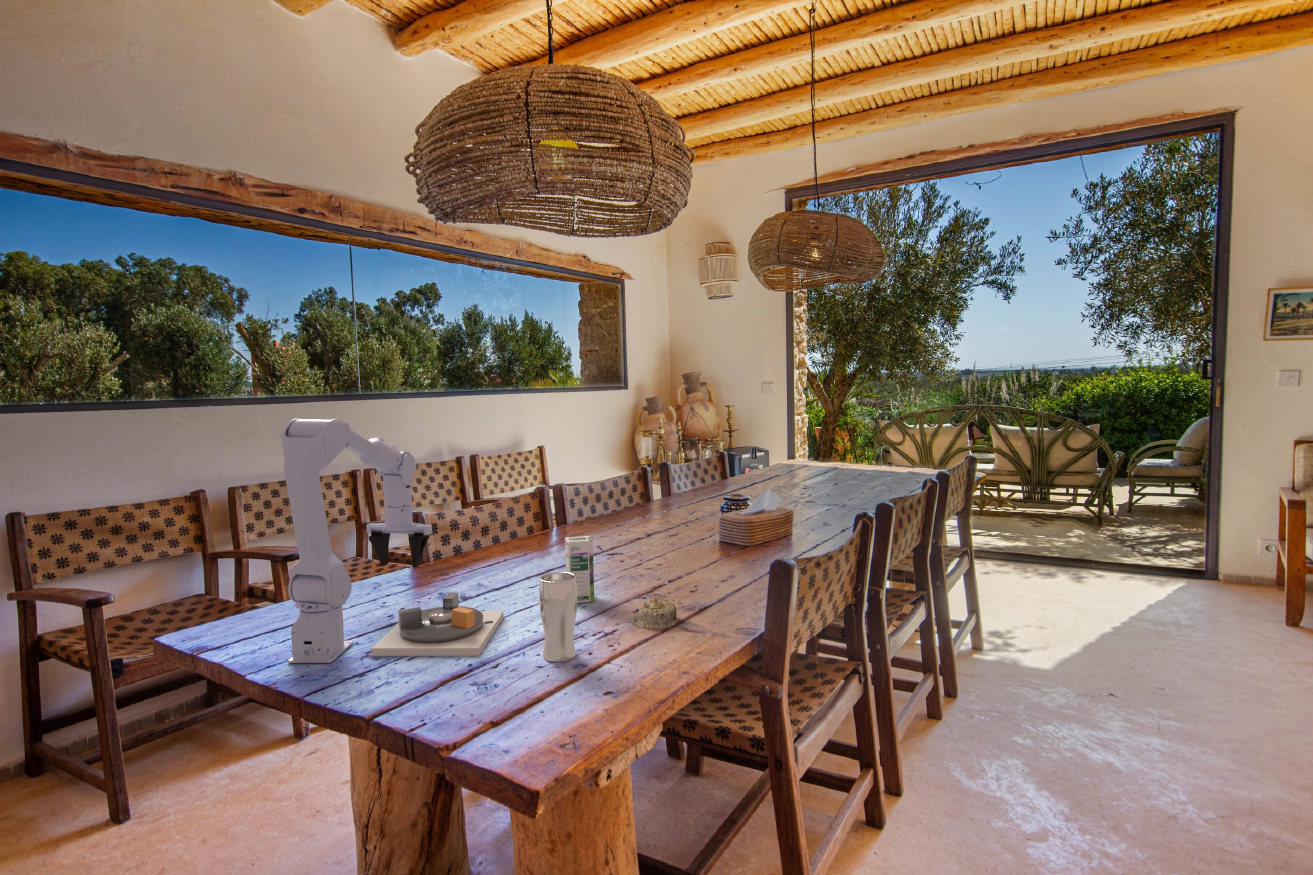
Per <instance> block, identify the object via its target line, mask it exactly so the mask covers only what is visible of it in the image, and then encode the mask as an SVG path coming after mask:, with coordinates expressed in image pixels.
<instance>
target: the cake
mask: <svg viewBox="0 0 1313 875" xmlns="http://www.w3.org/2000/svg"><path fill="white" fill-rule="evenodd" d="M678 620H679V618H678V617H677V607H676V606H675V604H674V603H671V602H670V601H666V600H661V599H660V600H659V599H658V598H653V599H647V600H645V601H644V602H643V607H642V608H640V609H639V610H638V612H637V613H636V614H635V615H634V616H632V618H631V623H632V624H633V625H634V626H635V627H638V628H640V629H644V630H645V629H649V630H652V629H653V630H654V629H655V630H660V629H667V628H666V627H668V628H671V626H672V627H673V626H675V625H676V624H678V623H679V621H678ZM645 627H646V628H645Z"/></svg>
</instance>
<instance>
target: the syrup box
mask: <svg viewBox="0 0 1313 875" xmlns="http://www.w3.org/2000/svg"><path fill="white" fill-rule="evenodd" d="M564 547H565V548H564V550H565V572H569V573H573V574H575V575H576V585H577V604H583V603H584V604H585V603H594V602H595V574H594V572H595V571H594V568H595V567H594V564H595V563H594V540H593V538H592V537H591V536H590V535H584V536H570V537H569V536H566V537H565V538H564Z"/></svg>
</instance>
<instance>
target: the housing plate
mask: <svg viewBox="0 0 1313 875" xmlns="http://www.w3.org/2000/svg"><path fill="white" fill-rule="evenodd" d="M479 611H480V612H481V613H482V614H483V626H482V628H481V629H480V630H479V631H477V632H476V633H474V634H472V635H469V636H467V637H464V638H461V639H457V640H452V641H447V642H438V643H420V642H413V641H409V640H406V639H404V638H402V637H401V635H400V631H399V622H398V623H397V624H396V625H395V626H393V627H392V628H391V629H390V630H389V631H388V632H387V633H386V634H384V636H383V637H382V638H381V639H379V641H377V642H376V643H375V644H374V645H373V646H372V647H371V657H474V656H475V657H480V655H481V654H482V652H483V651H484V649H485V648H486V646H487V644H488V642H490V640H491V638H492V636H493V635H494V633H496V630H497V629H498V627H499V626H500V624H501V623H502V621H503V620H504V611H503V610H497V611H496V610H479Z"/></svg>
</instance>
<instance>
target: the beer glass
mask: <svg viewBox="0 0 1313 875" xmlns="http://www.w3.org/2000/svg"><path fill="white" fill-rule="evenodd" d="M538 590H539V594H538V595H539V596H538V598H539V599H538V601H539V612H540V617H541V622H542V627H543V632H544V634H543V635H544V646H543V651H542V652H543V653H542V658H543V659H544V661H547V662H551V663H563V662H568V661H571V660H573V659H574V658H575V657H576V656H577V652H576V651H577V650H576V646H575V645H576V644H575V641H574V634H575V633H574V632H575V624H576V618H577V613H578V612H577V611H578V603H577V585H576V575H575V574H573V573H569V572H566V571H552V572H548V573H544V574H542V575H541V576H540V577H539V589H538Z"/></svg>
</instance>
